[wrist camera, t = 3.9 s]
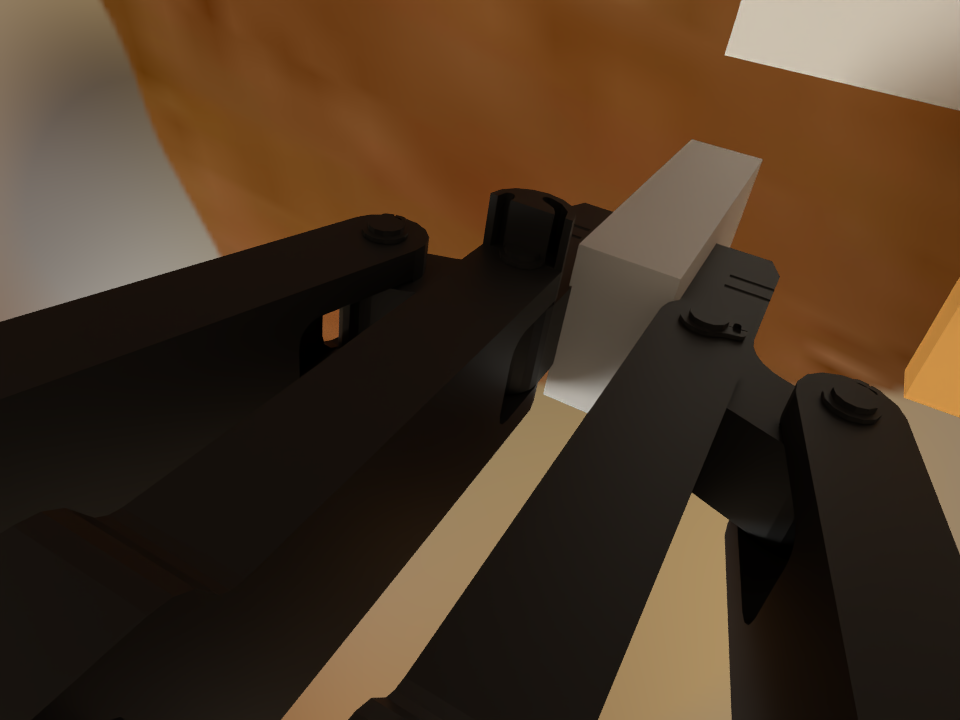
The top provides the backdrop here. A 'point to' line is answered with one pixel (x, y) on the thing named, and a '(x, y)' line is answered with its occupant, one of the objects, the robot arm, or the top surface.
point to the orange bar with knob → (938, 361)
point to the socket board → (858, 43)
